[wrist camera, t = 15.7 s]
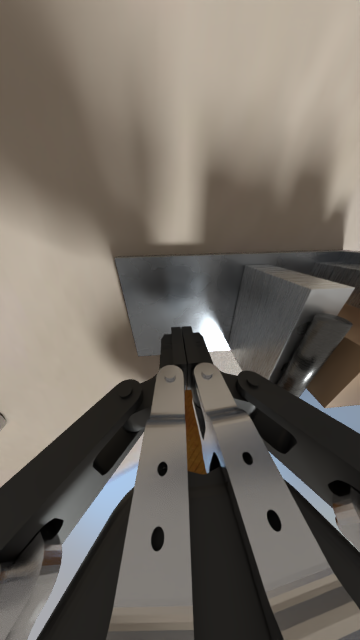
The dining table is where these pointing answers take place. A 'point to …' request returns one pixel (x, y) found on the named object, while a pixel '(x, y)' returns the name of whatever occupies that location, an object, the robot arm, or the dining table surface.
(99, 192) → the dining table surface
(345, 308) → the walnut block
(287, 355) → the block
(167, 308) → the vise bed
